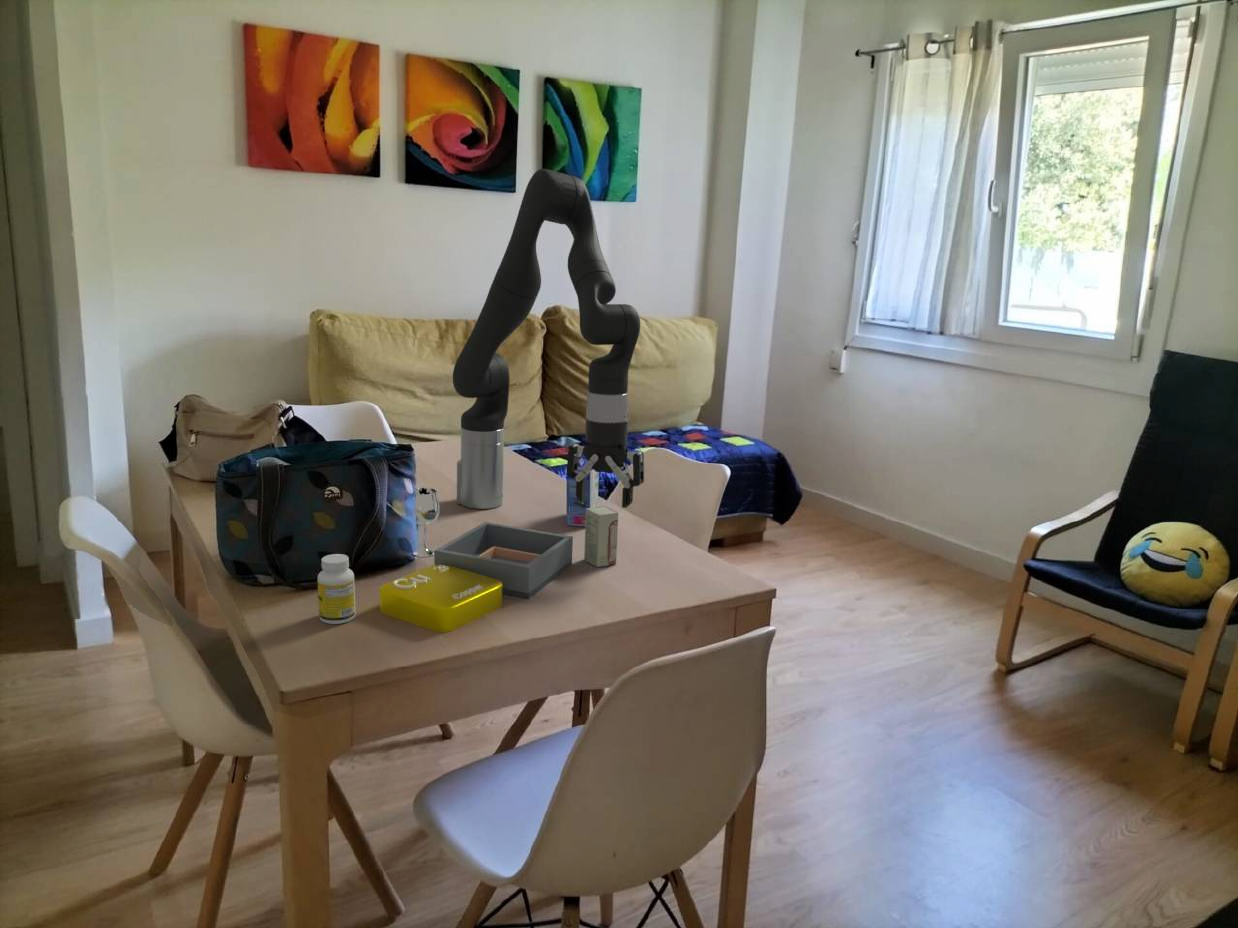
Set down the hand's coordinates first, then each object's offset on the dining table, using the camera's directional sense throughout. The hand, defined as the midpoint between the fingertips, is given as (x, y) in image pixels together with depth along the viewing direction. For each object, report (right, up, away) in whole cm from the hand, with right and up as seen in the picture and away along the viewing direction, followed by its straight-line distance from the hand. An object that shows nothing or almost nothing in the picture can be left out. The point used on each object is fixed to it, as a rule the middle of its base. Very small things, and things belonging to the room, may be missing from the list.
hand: (604, 503), depth 170 cm
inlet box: (-18, -12, -5) cm, 22 cm away
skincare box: (-1, -11, +3) cm, 12 cm away
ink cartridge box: (-5, -5, +27) cm, 28 cm away
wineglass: (-34, -10, +3) cm, 35 cm away
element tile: (-26, -16, -20) cm, 37 cm away
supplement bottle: (-41, -17, -26) cm, 51 cm away
